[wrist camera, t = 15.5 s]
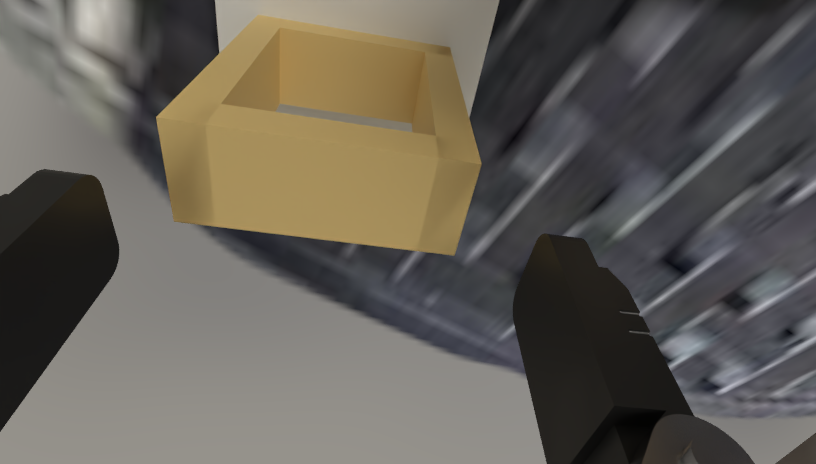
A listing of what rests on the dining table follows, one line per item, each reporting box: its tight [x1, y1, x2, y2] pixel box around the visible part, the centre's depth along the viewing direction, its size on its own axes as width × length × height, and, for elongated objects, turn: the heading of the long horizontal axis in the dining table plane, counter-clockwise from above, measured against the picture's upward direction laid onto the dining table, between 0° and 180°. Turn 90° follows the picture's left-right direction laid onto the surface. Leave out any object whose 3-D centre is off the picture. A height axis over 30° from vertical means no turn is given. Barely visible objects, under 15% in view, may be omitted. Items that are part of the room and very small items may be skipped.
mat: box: [215, 0, 499, 132], centre depth 17 cm, size 9×9×1 cm
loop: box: [156, 15, 482, 255], centre depth 13 cm, size 6×2×8 cm, turn 81°
